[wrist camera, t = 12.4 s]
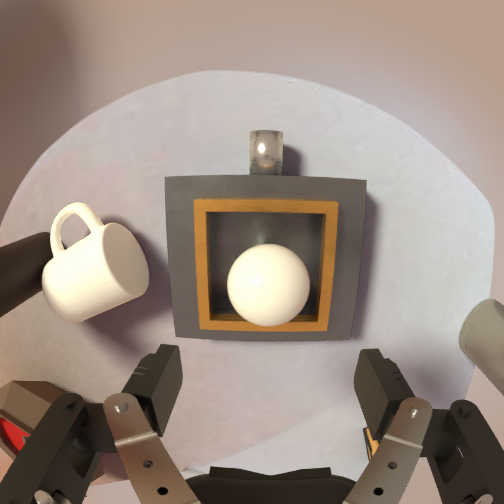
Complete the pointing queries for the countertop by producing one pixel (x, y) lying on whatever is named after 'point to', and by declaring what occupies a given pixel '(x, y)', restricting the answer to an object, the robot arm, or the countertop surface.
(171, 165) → the countertop surface
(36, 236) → the bottle
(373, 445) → the ammunition clip
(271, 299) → the lightbulb
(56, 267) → the mug
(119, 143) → the countertop surface
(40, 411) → the brown cauldron
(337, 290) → the grey shallow box
